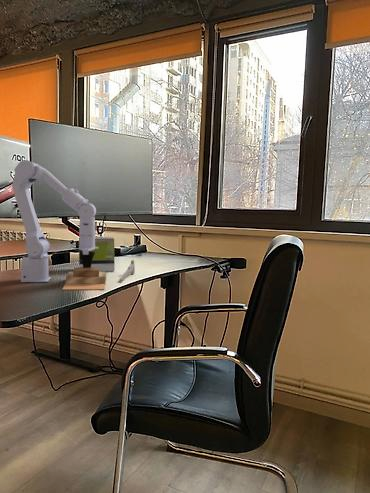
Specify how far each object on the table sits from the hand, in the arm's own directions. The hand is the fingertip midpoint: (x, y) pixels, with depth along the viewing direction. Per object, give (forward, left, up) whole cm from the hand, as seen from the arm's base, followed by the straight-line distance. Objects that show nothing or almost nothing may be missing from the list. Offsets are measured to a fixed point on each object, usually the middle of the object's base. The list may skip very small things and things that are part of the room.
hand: (87, 271), depth 149 cm
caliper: (+15, +7, -4) cm, 17 cm away
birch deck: (0, -1, -4) cm, 4 cm away
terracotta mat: (0, -11, -4) cm, 11 cm away
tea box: (+2, +25, -4) cm, 25 cm away
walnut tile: (0, -4, 0) cm, 4 cm away
